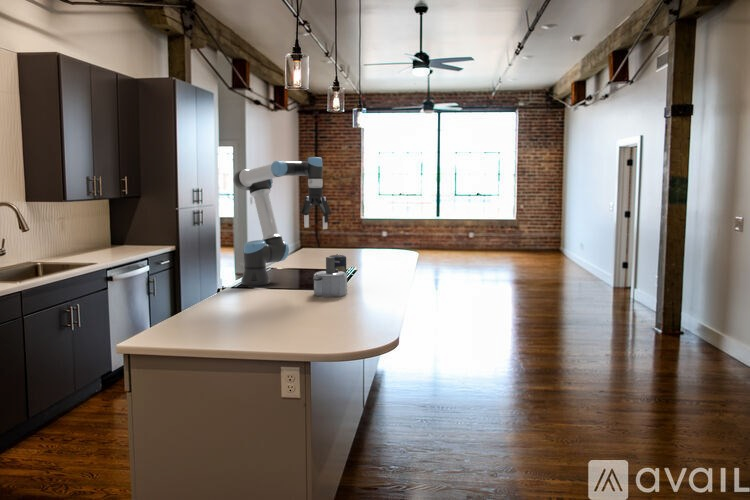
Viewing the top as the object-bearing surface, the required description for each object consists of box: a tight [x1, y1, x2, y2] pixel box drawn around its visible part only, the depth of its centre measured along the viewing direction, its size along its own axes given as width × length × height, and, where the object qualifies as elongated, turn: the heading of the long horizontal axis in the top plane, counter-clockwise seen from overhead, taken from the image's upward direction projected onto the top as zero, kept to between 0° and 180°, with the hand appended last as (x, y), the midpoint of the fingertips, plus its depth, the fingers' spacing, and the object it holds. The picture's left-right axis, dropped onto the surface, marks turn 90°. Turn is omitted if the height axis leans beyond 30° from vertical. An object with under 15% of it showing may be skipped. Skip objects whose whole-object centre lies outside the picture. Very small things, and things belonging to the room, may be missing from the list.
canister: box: [328, 253, 348, 274], centre depth 320 cm, size 10×10×18 cm
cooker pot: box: [312, 272, 348, 298], centre depth 302 cm, size 16×22×10 cm
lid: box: [314, 256, 345, 277], centre depth 301 cm, size 15×15×11 cm
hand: (315, 228), depth 315 cm, fingers open, 13 cm apart
